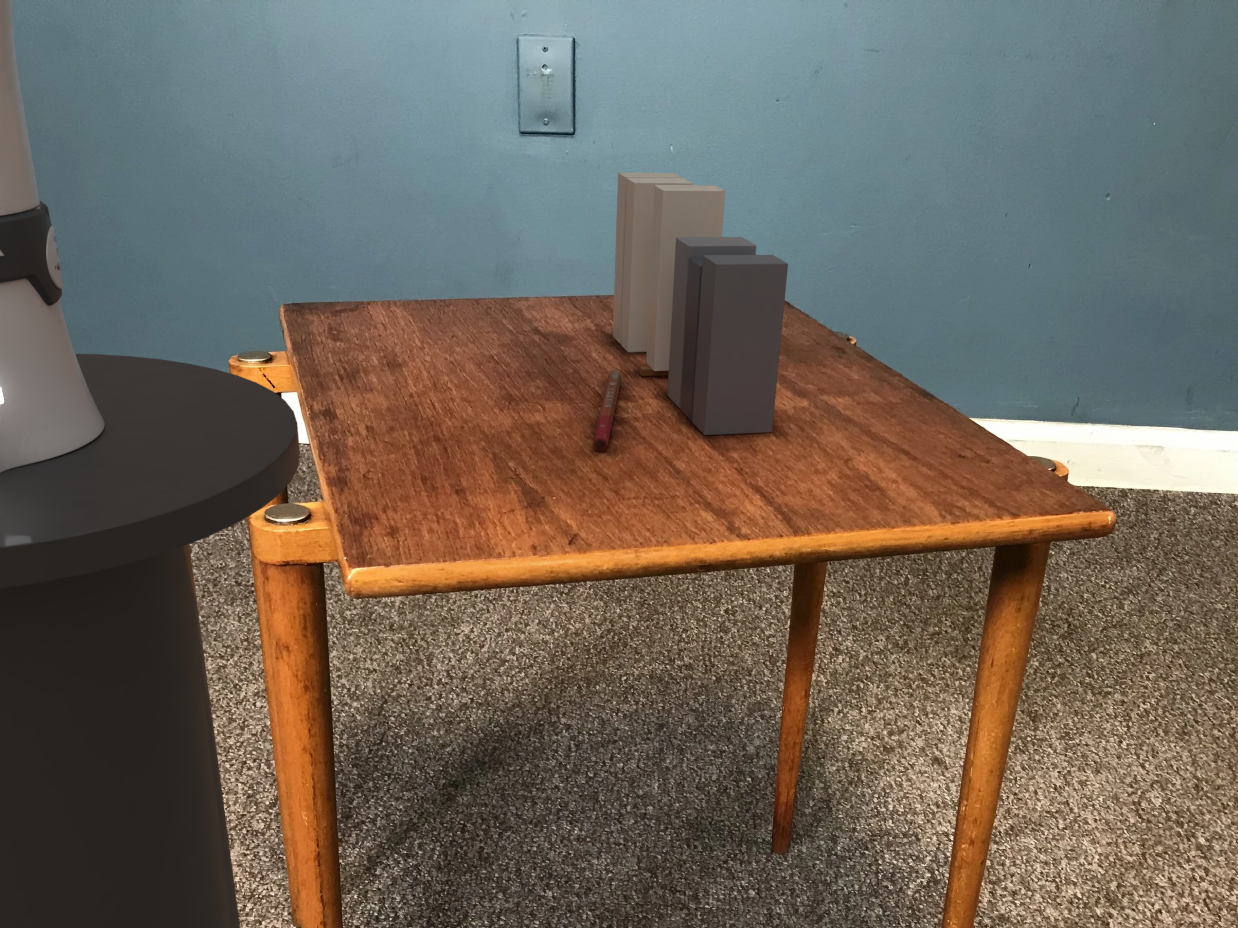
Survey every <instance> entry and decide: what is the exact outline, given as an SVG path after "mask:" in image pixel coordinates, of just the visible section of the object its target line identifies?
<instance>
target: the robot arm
mask: <svg viewBox="0 0 1238 928" xmlns="http://www.w3.org/2000/svg"><path fill="white" fill-rule="evenodd" d="M14 25H15V24H14V6H13V0H0V473H1V472H3V471H5V470H8V469H11V468H15V467H19V466H23V465H27V464H31V463H35V462H39V461H43V460H47V459H50V458H53V457H57V456H60V455H63V454H65V453H68V452H71V451H73V450H76V449H78V448H80V447H82V446H84V445H86V444H88V443H89V442H91V441H93V440H94V439H95V438H96V437H98V436H99V435H100V434H101V432H102V431H103V429H104V426H105V422H104V420H103V418H102V416H101V414H100V412H99V410H98V408H97V406H96V404H95V402H94V400H93V398H92V396H91V393H90V391H89V389H88V386H87V384H86V381H85V379H84V376H83V374H82V371H81V369H80V366H79V363H78V360H77V357H76V354H77V353H76V352H75V348H74V345H73V341H72V338H71V336H70V332H69V329H68V325H67V323H66V318H65V315H64V311H63V306H62V302H61V298H62V296H63V287H64V280H63V274H62V267H61V260H60V254H59V247H58V242H57V237H56V231H55V230H56V229H55V226H54V225H52V220H51V215H50V211H49V207H48V205H47V204H46V203H45V202H44V201H42V200H40V195H39V194H40V193H39V188H38V183H37V177H36V171H35V165H34V160H33V155H32V147H31V143H30V135H29V131H28V124H27V123H28V122H27V117H26V112H25V106H24V100H23V94H22V88H21V82H20V74H19V69H18V62H17V54H16V43H15V41H16V40H15V28H14V27H15V26H14Z"/></svg>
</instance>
